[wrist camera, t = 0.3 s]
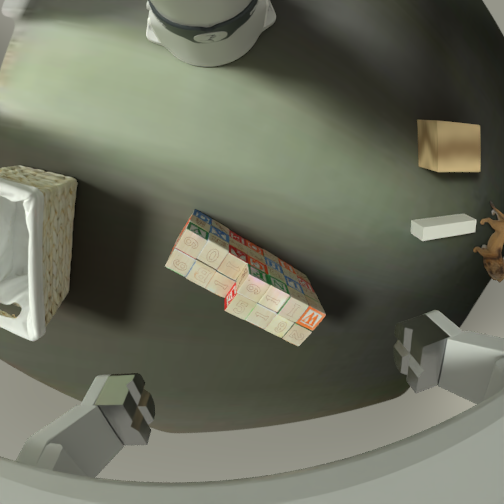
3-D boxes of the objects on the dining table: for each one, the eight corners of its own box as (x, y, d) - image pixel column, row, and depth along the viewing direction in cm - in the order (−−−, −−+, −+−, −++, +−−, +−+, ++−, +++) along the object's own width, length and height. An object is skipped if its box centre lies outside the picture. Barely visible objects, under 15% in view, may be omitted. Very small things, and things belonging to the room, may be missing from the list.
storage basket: (74, 299, 51) (39, 348, 37) (10, 275, 48) (-31, 313, 34) (86, 172, 43) (36, 193, 29) (13, 156, 40) (-43, 172, 26)
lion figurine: (484, 265, 54) (509, 283, 46) (468, 267, 54) (494, 286, 45) (495, 200, 48) (525, 212, 40) (480, 199, 48) (510, 212, 40)
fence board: (411, 220, 49) (423, 227, 45) (463, 213, 49) (476, 219, 45) (410, 233, 50) (422, 241, 46) (462, 225, 50) (475, 232, 46)
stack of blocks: (175, 241, 48) (159, 276, 36) (195, 207, 46) (183, 234, 35) (285, 302, 53) (299, 348, 42) (307, 275, 52) (327, 316, 40)
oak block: (416, 119, 42) (437, 120, 37) (458, 123, 43) (480, 125, 37) (418, 166, 46) (438, 172, 40) (459, 166, 46) (480, 171, 40)
